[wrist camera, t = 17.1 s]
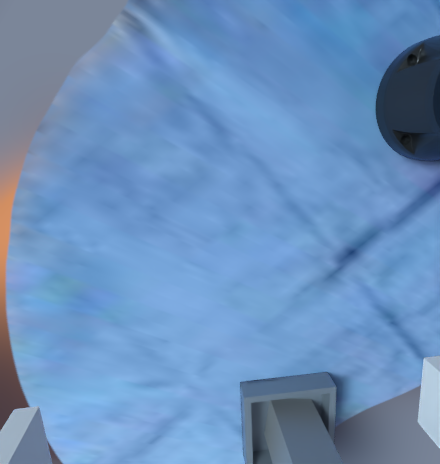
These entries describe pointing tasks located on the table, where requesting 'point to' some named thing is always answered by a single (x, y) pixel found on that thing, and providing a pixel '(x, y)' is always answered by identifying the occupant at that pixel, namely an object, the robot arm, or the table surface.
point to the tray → (263, 391)
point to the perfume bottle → (298, 434)
